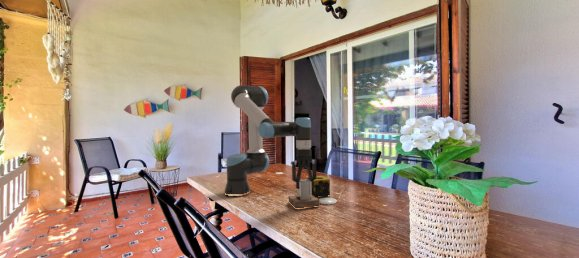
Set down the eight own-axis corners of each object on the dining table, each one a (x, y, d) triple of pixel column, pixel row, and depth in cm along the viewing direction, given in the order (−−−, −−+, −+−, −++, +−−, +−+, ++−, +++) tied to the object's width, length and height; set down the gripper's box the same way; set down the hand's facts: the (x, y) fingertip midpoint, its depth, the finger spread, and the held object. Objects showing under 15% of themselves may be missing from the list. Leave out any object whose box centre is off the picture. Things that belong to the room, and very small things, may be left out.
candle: (306, 194, 157) (306, 176, 156) (322, 192, 160) (322, 175, 159) (313, 198, 147) (313, 180, 147) (330, 196, 150) (330, 178, 150)
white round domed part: (314, 200, 143) (314, 199, 143) (331, 198, 146) (331, 197, 146) (322, 206, 134) (322, 204, 134) (340, 203, 137) (340, 202, 137)
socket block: (288, 202, 140) (288, 196, 140) (310, 200, 144) (310, 193, 143) (296, 210, 129) (296, 202, 128) (319, 207, 132) (319, 199, 132)
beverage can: (304, 201, 140) (303, 178, 139) (311, 203, 137) (311, 179, 136) (298, 204, 136) (297, 180, 136) (306, 205, 133) (305, 181, 133)
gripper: (288, 150, 129) (290, 198, 130) (323, 148, 135) (324, 194, 135) (284, 148, 136) (285, 194, 137) (317, 146, 142) (318, 190, 142)
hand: (304, 194), depth 136 cm, fingers closed on beverage can, 5 cm apart
